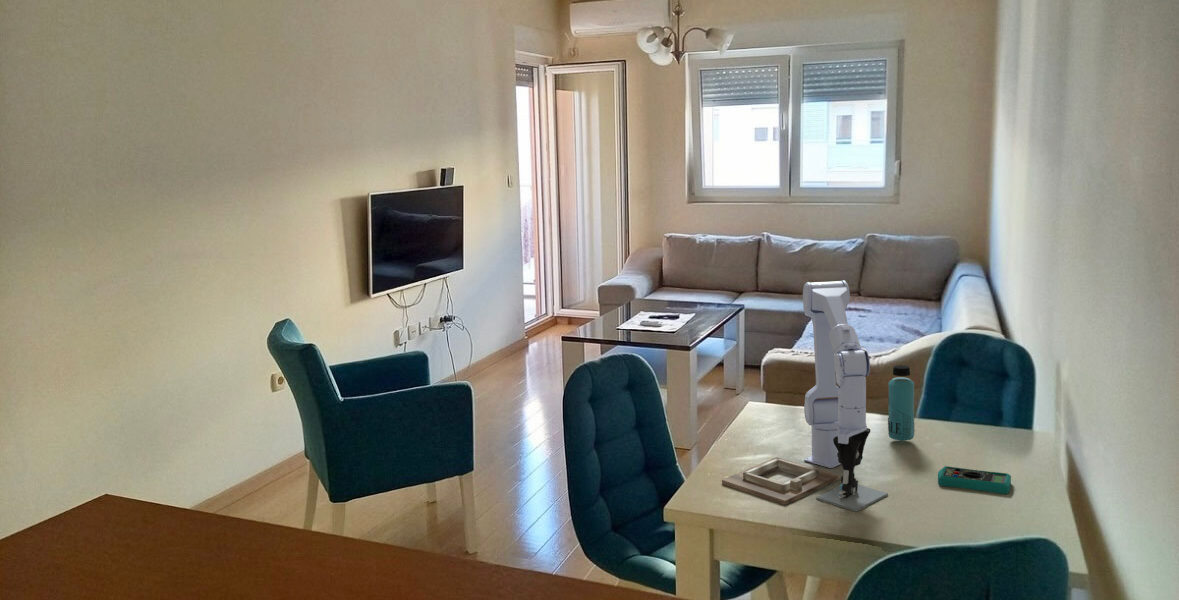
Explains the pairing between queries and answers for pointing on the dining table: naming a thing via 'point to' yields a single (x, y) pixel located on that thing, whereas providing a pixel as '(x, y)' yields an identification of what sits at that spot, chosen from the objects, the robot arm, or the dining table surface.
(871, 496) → the rubber mat
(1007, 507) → the dining table surface
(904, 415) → the beverage bottle
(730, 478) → the brown flat rectangular frame
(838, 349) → the robot arm
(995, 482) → the digital multimeter
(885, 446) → the dining table surface
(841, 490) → the push button
